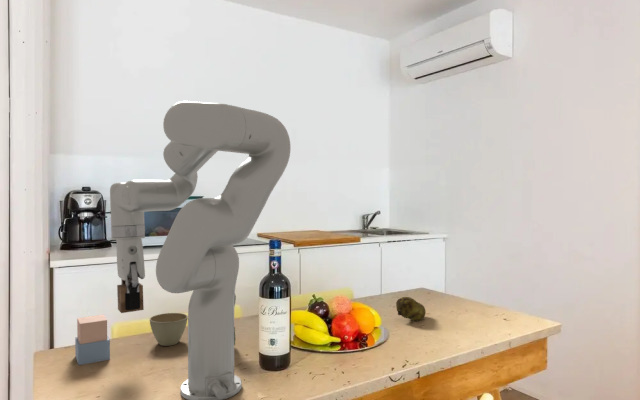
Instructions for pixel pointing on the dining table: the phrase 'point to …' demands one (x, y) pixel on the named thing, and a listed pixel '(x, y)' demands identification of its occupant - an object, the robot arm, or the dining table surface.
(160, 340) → the olive grey bowl
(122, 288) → the walnut block
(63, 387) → the dining table surface
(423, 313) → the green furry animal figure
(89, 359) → the tower base
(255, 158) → the robot arm
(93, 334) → the tower top
